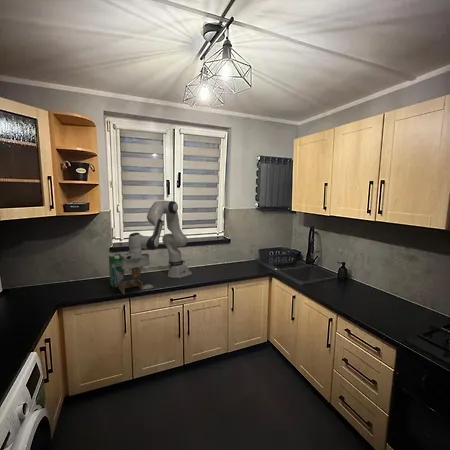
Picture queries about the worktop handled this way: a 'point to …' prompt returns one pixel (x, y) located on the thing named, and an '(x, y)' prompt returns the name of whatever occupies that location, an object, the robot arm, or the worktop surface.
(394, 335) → the worktop surface
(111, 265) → the milk carton
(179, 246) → the robot arm
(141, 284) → the croissant
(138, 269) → the walnut block
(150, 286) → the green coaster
